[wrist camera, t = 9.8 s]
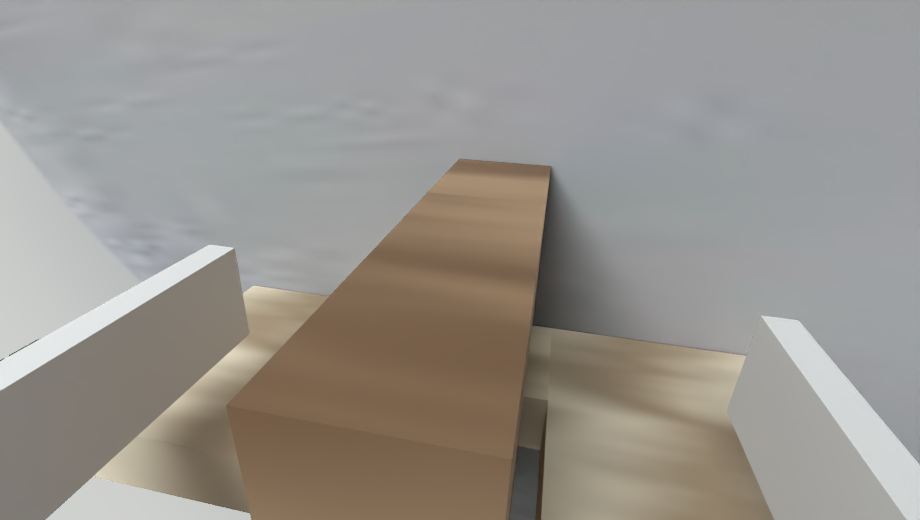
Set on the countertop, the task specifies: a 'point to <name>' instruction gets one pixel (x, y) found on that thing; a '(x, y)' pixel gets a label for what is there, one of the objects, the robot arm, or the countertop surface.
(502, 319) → the brown wooden board
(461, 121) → the countertop surface
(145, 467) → the maple plate
